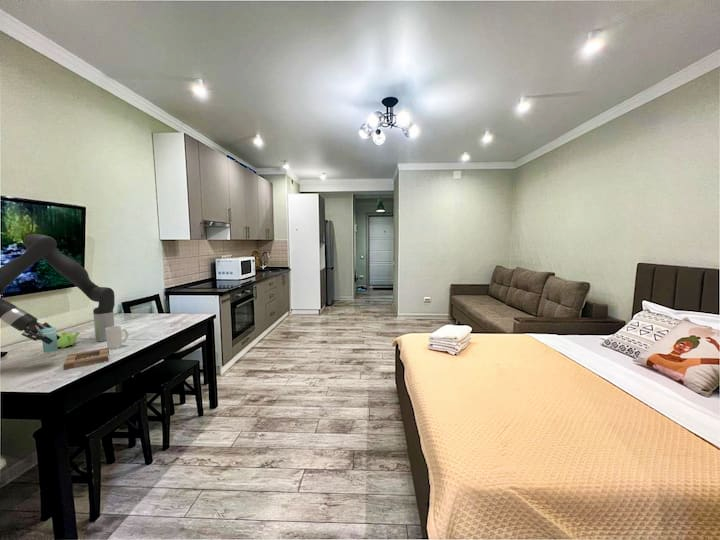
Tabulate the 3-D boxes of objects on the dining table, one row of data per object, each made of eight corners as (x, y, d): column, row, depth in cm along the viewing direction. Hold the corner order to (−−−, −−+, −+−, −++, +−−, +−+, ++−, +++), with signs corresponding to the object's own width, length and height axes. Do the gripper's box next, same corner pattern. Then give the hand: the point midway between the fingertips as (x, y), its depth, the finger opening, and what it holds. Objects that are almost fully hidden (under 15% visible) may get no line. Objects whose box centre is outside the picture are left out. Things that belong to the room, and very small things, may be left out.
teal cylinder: (44, 350, 139) (42, 328, 137) (58, 347, 142) (56, 326, 141) (42, 353, 135) (40, 331, 134) (57, 350, 138) (54, 329, 137)
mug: (104, 350, 159) (103, 329, 158) (109, 346, 165) (108, 326, 164) (126, 347, 163) (125, 327, 162) (130, 344, 169) (129, 324, 168)
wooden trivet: (68, 359, 147) (67, 354, 147) (108, 351, 157) (108, 347, 157) (63, 369, 135) (63, 365, 135) (108, 361, 145) (107, 356, 145)
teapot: (75, 347, 163) (74, 333, 162) (47, 351, 156) (45, 336, 156) (81, 341, 172) (79, 328, 171) (54, 345, 166) (53, 331, 165)
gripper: (13, 317, 127) (51, 340, 132) (37, 309, 140) (70, 330, 146) (-1, 329, 126) (37, 352, 131) (24, 320, 139) (58, 341, 145)
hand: (54, 340), depth 139 cm, fingers closed on teal cylinder, 4 cm apart
